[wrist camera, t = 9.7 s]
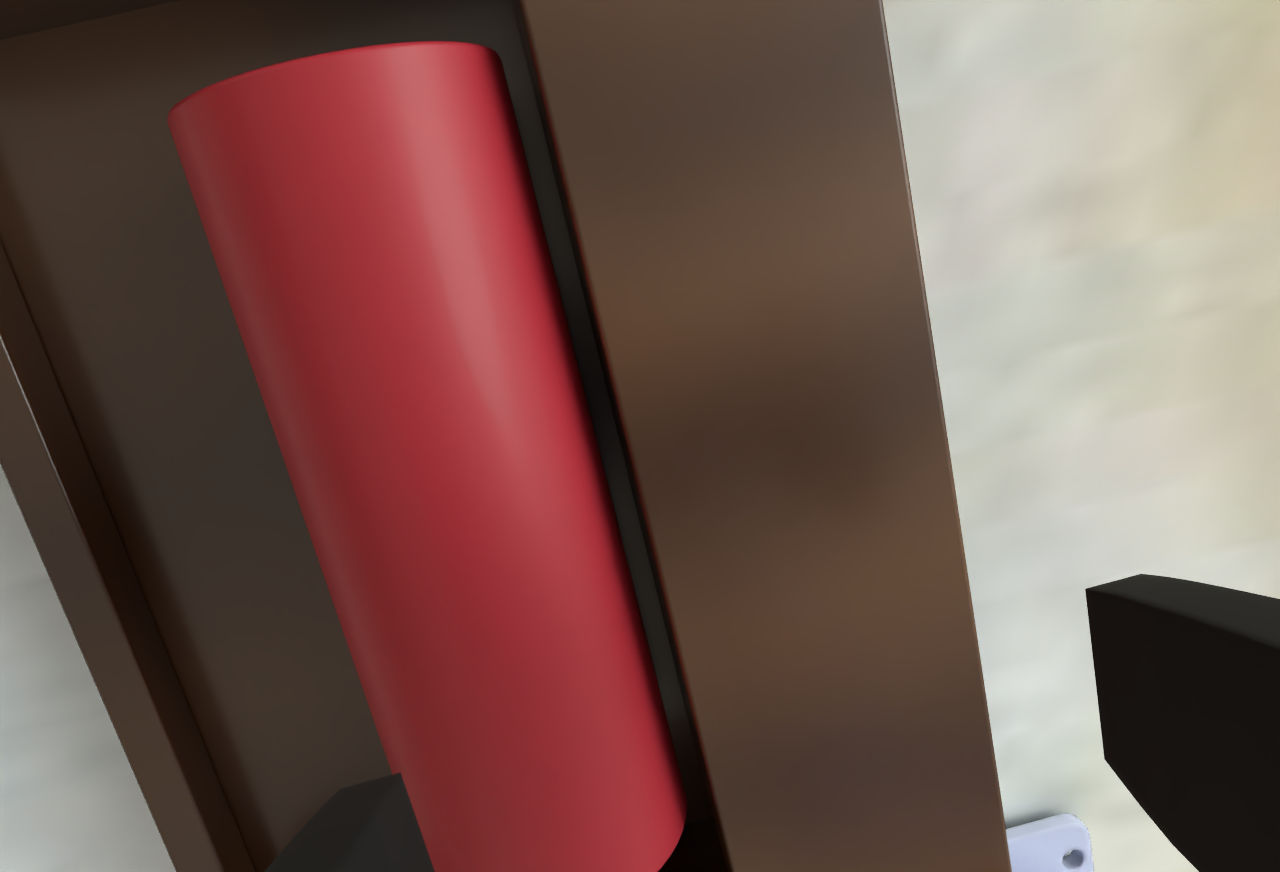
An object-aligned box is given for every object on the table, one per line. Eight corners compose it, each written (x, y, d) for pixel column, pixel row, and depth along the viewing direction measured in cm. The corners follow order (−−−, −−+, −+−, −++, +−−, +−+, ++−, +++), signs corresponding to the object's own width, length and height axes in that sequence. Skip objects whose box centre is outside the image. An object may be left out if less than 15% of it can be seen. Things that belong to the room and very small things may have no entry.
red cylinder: (430, 799, 16) (651, 722, 17) (432, 983, 12) (724, 869, 13) (210, 144, 13) (488, 88, 14) (113, 90, 9) (515, 14, 10)
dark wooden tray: (893, 737, 20) (1037, 945, 14) (285, 903, 19) (172, 1195, 13) (736, -135, 15) (850, -357, 10) (-59, 40, 15) (-449, -86, 9)
